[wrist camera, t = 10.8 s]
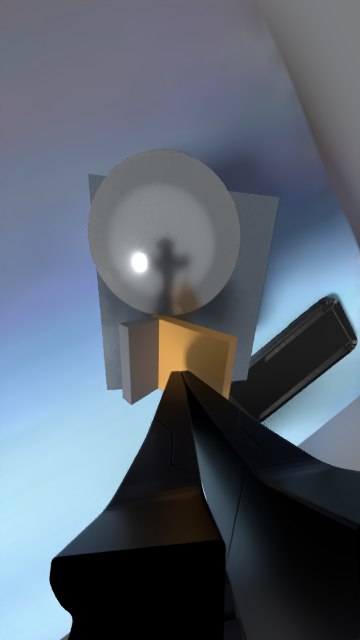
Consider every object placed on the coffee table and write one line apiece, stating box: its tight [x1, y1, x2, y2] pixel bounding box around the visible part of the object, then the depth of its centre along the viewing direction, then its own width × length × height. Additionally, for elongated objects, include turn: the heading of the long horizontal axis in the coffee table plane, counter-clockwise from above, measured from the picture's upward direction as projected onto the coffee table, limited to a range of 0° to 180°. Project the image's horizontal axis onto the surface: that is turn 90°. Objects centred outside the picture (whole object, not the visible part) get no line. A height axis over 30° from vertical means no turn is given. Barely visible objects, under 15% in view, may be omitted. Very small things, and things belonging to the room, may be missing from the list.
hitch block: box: [88, 174, 280, 390], centre depth 14 cm, size 12×10×5 cm
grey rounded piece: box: [88, 150, 240, 316], centre depth 11 cm, size 6×6×7 cm
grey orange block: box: [119, 315, 238, 405], centre depth 9 cm, size 4×3×5 cm
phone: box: [228, 297, 357, 423], centre depth 21 cm, size 8×1×15 cm
